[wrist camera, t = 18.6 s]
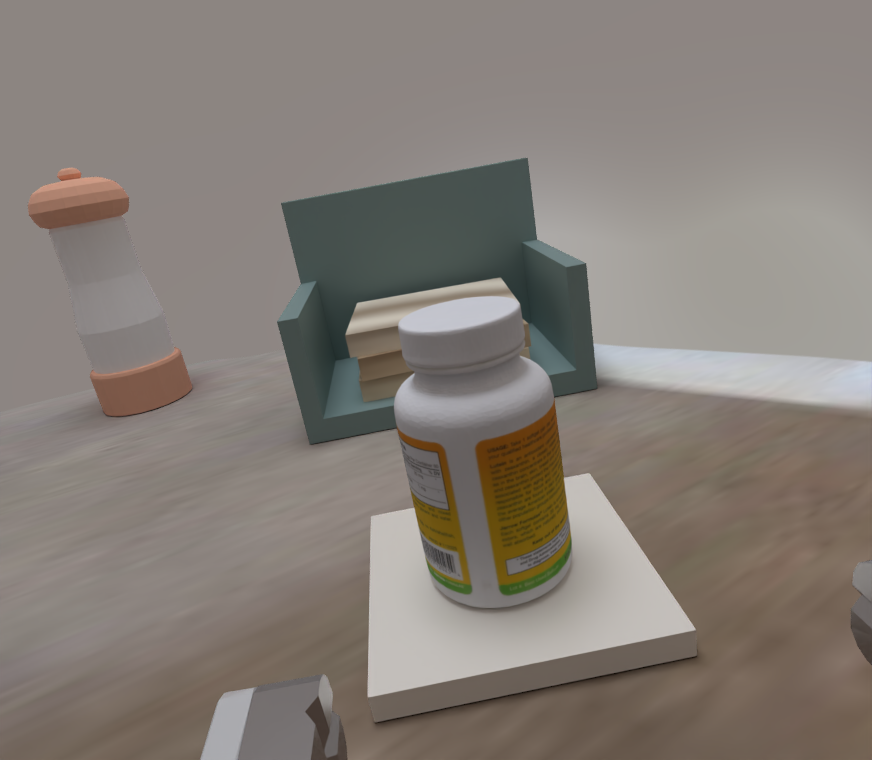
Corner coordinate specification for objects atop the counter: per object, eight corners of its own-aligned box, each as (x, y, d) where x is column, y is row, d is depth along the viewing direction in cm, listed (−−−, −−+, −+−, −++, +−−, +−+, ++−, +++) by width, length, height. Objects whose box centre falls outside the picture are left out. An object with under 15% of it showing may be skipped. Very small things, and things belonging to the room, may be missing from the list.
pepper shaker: (93, 424, 50) (-5, 177, 43) (116, 395, 57) (34, 177, 50) (186, 402, 51) (104, 158, 44) (197, 376, 58) (127, 161, 51)
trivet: (696, 655, 19) (696, 629, 19) (374, 722, 19) (367, 697, 18) (591, 492, 28) (589, 473, 28) (375, 535, 28) (371, 516, 28)
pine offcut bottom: (531, 370, 40) (528, 347, 40) (363, 402, 40) (358, 380, 39) (504, 333, 49) (502, 315, 48) (366, 360, 48) (362, 342, 48)
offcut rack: (597, 388, 39) (576, 156, 35) (309, 444, 39) (248, 217, 34) (544, 334, 52) (524, 158, 47) (326, 375, 51) (283, 202, 46)
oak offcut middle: (531, 346, 40) (528, 323, 39) (362, 381, 39) (357, 359, 39) (498, 315, 48) (495, 296, 48) (359, 343, 47) (354, 324, 47)
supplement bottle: (576, 520, 25) (549, 281, 22) (570, 616, 20) (534, 328, 17) (446, 521, 26) (403, 299, 23) (412, 611, 22) (350, 346, 18)
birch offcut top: (523, 327, 39) (520, 304, 38) (350, 357, 39) (345, 335, 39) (503, 296, 47) (500, 277, 47) (361, 321, 48) (357, 302, 47)
